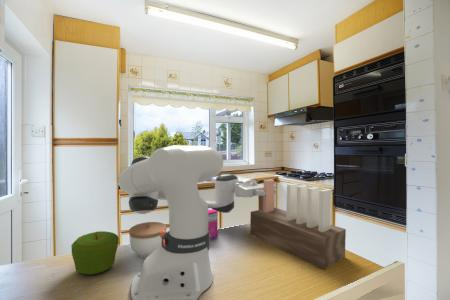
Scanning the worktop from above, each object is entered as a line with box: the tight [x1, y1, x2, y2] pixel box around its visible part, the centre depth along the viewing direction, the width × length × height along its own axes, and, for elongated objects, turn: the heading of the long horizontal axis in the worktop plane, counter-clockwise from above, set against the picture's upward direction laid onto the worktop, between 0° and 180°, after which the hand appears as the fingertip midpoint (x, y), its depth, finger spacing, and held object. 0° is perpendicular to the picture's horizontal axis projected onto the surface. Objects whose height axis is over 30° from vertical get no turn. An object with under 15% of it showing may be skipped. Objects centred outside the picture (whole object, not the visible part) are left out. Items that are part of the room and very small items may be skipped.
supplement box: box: [208, 208, 219, 240], centre depth 95 cm, size 6×6×12 cm
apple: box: [71, 230, 120, 275], centre depth 69 cm, size 12×12×11 cm
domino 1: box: [262, 178, 275, 213], centre depth 99 cm, size 5×2×14 cm, turn 127°
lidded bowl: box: [128, 221, 167, 259], centre depth 80 cm, size 13×13×11 cm
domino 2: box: [285, 183, 299, 221], centre depth 89 cm, size 5×2×14 cm, turn 127°
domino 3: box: [296, 184, 309, 224], centre depth 85 cm, size 5×2×14 cm, turn 126°
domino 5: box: [318, 188, 332, 232], centre depth 78 cm, size 5×2×14 cm, turn 126°
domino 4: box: [307, 186, 320, 228], centre depth 81 cm, size 5×2×14 cm, turn 126°
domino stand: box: [249, 207, 347, 271], centre depth 88 cm, size 14×34×10 cm, turn 37°
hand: (270, 192), depth 98 cm, fingers closed on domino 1, 5 cm apart
